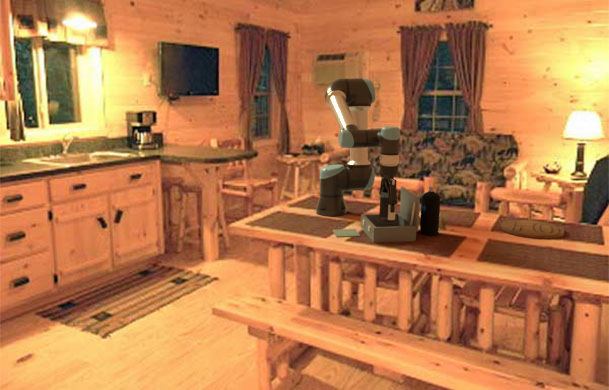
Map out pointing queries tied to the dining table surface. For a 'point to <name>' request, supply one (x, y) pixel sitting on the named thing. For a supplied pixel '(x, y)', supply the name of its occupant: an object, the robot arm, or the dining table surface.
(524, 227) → the trivet
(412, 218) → the case
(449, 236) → the dining table surface
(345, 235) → the mat
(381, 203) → the small box
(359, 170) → the robot arm
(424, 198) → the aerosol can
